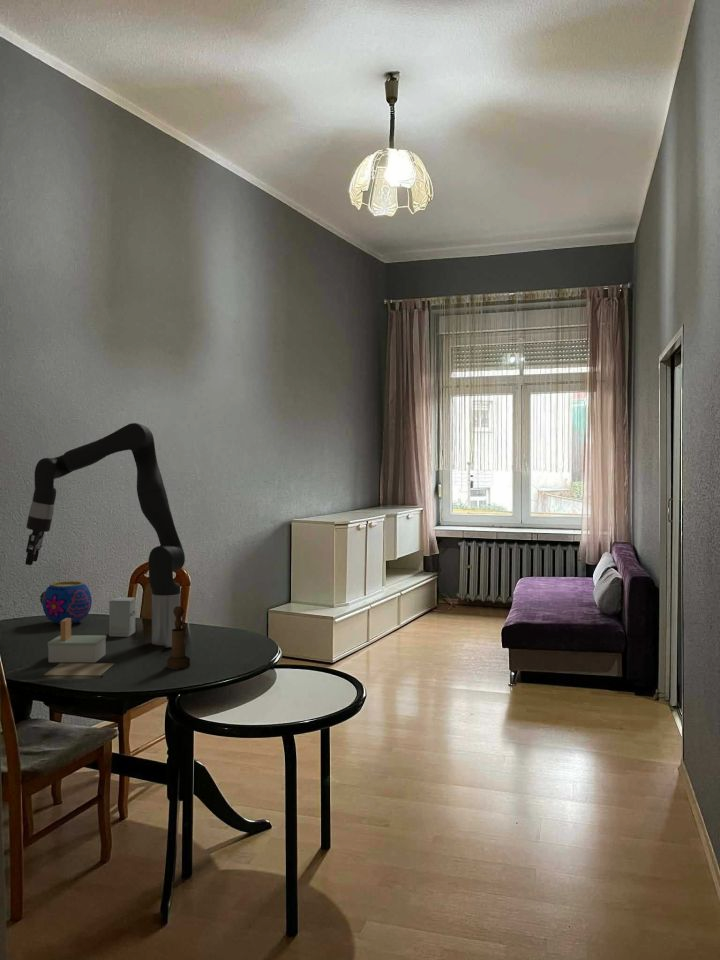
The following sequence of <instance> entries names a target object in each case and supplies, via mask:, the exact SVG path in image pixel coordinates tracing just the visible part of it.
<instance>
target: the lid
mask: <svg viewBox="0 0 720 960" xmlns="http://www.w3.org/2000/svg"><path fill="white" fill-rule="evenodd" d="M104 639H107V635H98V634H97V635H95V634H94V635H93V634H91V635H84V634H83V635H80V634H79V635H77V634H76V635H73V634H72V624H71V618H65V619H64V620H62V621H61V624H60V635H58V636H56V637H55V638H53V639H52V640H50V641H48V642H47V647H48V646H96V645H98V644H99V643H100V642H102V641H103V640H104Z"/></svg>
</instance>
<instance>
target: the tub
mask: <svg viewBox="0 0 720 960" xmlns="http://www.w3.org/2000/svg"><path fill="white" fill-rule="evenodd" d="M106 639H107V638H106ZM106 639H104V640H103V641H102V642H100V643H99V644H98V645H96V646H47V647H48V657H47V658H48V660H47V661H48V663H96V662H97V663H98V661H100V659H102V658H103V657H104V656H106V654H107V653H106V651H107V648H106Z"/></svg>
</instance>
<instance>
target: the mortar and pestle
mask: <svg viewBox="0 0 720 960" xmlns="http://www.w3.org/2000/svg"><path fill="white" fill-rule="evenodd" d="M184 612H185V611H184V608H183V607H182V606H181V605H180V606H178V607H175V608H174V610H173V613H174V615H175V617H176V621H175V627H176V629H173V630H172V647H171V655H170V656H169V658H167V659H166V662H167V663H166V667H168V668H167V669H169V668H171V670H180V669H179V668H185V669H187V668H186V667H188V668H190V667H191V658H190V657H188V655H186V629H185V628H184V627H183V620H182V621H181V617H182V618H183V615H184ZM181 626H182V628H181ZM189 666H190V667H189Z"/></svg>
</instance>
